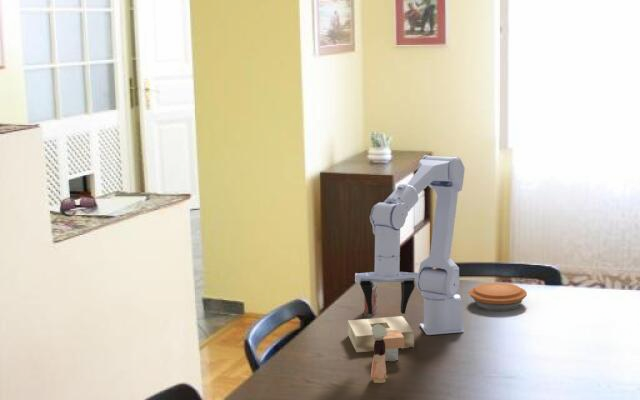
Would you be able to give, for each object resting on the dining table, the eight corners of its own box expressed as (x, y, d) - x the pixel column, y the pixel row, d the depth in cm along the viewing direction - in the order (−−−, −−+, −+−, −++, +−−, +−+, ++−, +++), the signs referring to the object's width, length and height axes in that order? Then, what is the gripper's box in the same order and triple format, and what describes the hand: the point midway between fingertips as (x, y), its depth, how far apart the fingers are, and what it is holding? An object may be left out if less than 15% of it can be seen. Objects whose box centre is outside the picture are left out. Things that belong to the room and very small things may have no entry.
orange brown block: (399, 353, 212) (398, 329, 210) (404, 362, 206) (404, 337, 205) (377, 355, 211) (376, 331, 210) (381, 364, 206) (380, 339, 205)
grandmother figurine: (371, 373, 200) (370, 319, 198) (389, 373, 200) (387, 319, 197) (370, 387, 193) (368, 330, 190) (388, 387, 192) (386, 330, 190)
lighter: (374, 317, 239) (373, 281, 237) (362, 317, 239) (361, 280, 238) (378, 307, 247) (377, 272, 245) (366, 307, 247) (365, 272, 245)
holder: (402, 331, 227) (402, 316, 226) (414, 347, 215) (413, 331, 215) (348, 335, 225) (347, 320, 225) (356, 352, 214) (356, 336, 213)
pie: (534, 300, 248) (535, 283, 247) (514, 317, 235) (514, 298, 234) (482, 293, 256) (482, 276, 255) (460, 309, 243) (460, 291, 242)
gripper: (357, 258, 201) (357, 317, 203) (421, 258, 202) (420, 316, 204) (354, 252, 208) (353, 309, 210) (416, 252, 209) (415, 309, 211)
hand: (386, 312), depth 207 cm, fingers open, 7 cm apart
